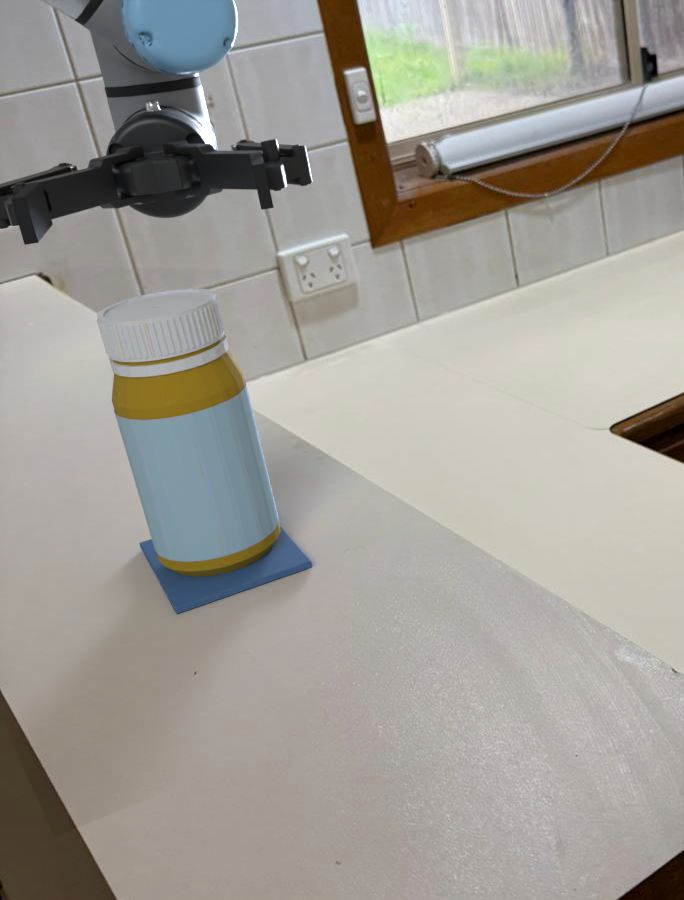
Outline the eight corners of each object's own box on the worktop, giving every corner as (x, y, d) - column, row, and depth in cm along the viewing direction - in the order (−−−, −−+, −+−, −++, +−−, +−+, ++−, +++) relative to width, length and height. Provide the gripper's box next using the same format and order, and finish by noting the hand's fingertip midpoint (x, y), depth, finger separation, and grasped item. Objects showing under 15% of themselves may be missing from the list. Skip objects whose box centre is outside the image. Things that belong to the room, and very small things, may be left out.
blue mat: (312, 567, 65) (310, 561, 64) (176, 614, 61) (174, 608, 61) (263, 509, 73) (261, 503, 72) (140, 548, 69) (139, 542, 69)
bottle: (210, 520, 71) (147, 286, 65) (306, 527, 68) (249, 285, 63) (134, 576, 65) (57, 324, 59) (236, 586, 63) (166, 324, 57)
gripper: (-30, 133, 83) (-104, 169, 64) (318, 89, 88) (344, 111, 70) (1, 235, 85) (-61, 299, 66) (336, 187, 91) (366, 233, 72)
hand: (146, 203), depth 68 cm, fingers open, 13 cm apart
